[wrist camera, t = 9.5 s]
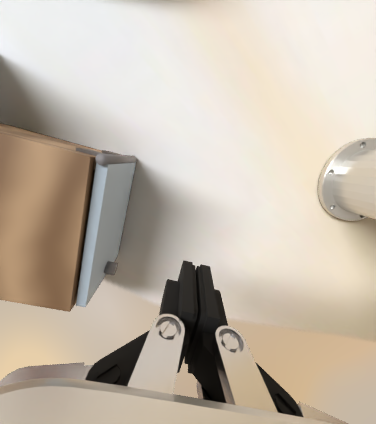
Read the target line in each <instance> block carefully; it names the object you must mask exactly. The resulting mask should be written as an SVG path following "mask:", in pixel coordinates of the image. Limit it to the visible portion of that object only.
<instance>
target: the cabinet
mask: <svg viewBox="0 0 376 424" xmlns="http://www.w3.org/2000/svg"><path fill="white" fill-rule="evenodd" d="M100 153H102V154H114V155H120V154H117V153H113V152H109V151H103V150H102V151H101V150H97V149H93V148H90V147H86V146H83V145H79V144H75V143H72V142H68V141H64V140H61V139H57V138H54V137H50V136H46V135H43V134H39V133H36V132H32V131H28V130H25V129H21V128H17V127H14V126H10V125H6V124H1V123H0V300H5V301H11V302H17V303H22V304H28V305H34V306H40V307H46V308H51V309H57V310H63V311H71V309H72V308H73V306H74V305H75V304H76V301H77V294H78V287H79V280H80V273H81V266H82V259H83V252H84V245H85V238H86V231H87V224H88V218H89V211H90V204H91V197H92V190H93V183H94V176H95V169H96V156H97V155H98V154H100Z"/></svg>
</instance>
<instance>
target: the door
mask: <svg viewBox="0 0 376 424" xmlns="http://www.w3.org/2000/svg"><path fill="white" fill-rule="evenodd" d="M136 161H137V159H136V157H135V156H127V155H114V154H102V153H100V154H98V155H97V156H96V169H95V176H94V183H93V190H92V197H91V204H90V211H89V218H88V224H87V231H86V238H85V245H84V252H83V259H82V266H81V273H80V280H79V287H78V294H77V301H76V306H82V307H86V305H87V304H88V302H89V301H90V299H91V297H92V296H93V294H94V293H95V291H96V290H97V288H98V286H99V285H100V283H101V282H102V280H103V279H104V277H105V275H106V274H110V275H114V274H115V272H116V269H117V265H118V263H115V262H114V261H115V259H116V258H117V256H118V252H119V247H120V242H121V237H122V232H123V226H124V221H125V216H126V211H127V206H128V201H129V196H130V191H131V186H132V181H133V176H134V171H135V166H136V163H135V162H136Z"/></svg>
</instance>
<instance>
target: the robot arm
mask: <svg viewBox="0 0 376 424" xmlns="http://www.w3.org/2000/svg"><path fill="white" fill-rule="evenodd" d="M318 196H319V199H320V202H321V204H322V206H323V208H324V209H325V210H326V211H327V212H328V213H329V214H331V215H332V216H334V217H337V218H339V219H342V220H347V221H356V220H362V219H365V218H368V217H369V218H373V219H376V138H366V139H359V140H356V141H353V142H350V143H348V144H346V145H344V146H343V147H342V148H340V149H339V150H338V151H336V152H335V153H334V154H333V155H332V156H331V157H330V159H329V160H328V162H327V163H326V164H325V166H324V168H323V170H322V172H321V175H320V178H319V184H318ZM184 356H185V364H188V373H192V374H193V375H194V376H195V378H196V379H197V380H198V381H197V393H198V398H192V397H186V396H180V395H174V394H173V392H174V386H175V381H176V376H177V373H178V372H179V371H180V368H181V365H182V362H183V359H184ZM0 424H348V423H346V422H344V421H342V420H339V419H337V418H335V417H333V416H330V415H328V414H326V413H323V412H322V411H319V410H317V409H315V408H313V407H310V406H308V405H306V404H303V403H301V402H299V403H298V404H296V402H295V401H294V399H293V398H292V397H291V396H290V395H289V394H288V393H287V392H286V391H285V390H284V389H283V388H282V387H281V386H280V385H279V384H278V383H277V382H276V381H275V380H274V379H272V378H271V377H270V376H269V375H268V374H267V373H266V372H265V371H264V370H263V369H262V368H261V367H260V366H259V365H258V364H257V363H256V362H255V360H254V359H253V356H252V354H251V352H250V349H249V347H248V345H247V343H246V340H245V339H244V337H243V336H242V335H241V334H240V332H239V331H237V330H236V329H234V328H232V327H230V326H228V324H227V319H226V315H225V311H224V307H223V302H222V298H221V294H220V291H219V290H215V289H214V285H213V280H212V275H211V270H210V266H206V265H200V267H199V266H197V268H196V271H195V265H192V262H188V261H183V264H182V267H181V271H180V275H179V278H178V281H173V280H169V279H167V282H166V286H165V290H164V294H163V298H162V303H161V308H160V314H159V316H158V317H157V318H155V320H154V322H153V324H152V326H151V329H150V330H149V331H148V332H146V333H144V334H143V335H141V336H139V337H138V338H136V339H134V340H132V341H131V342H129V343H128V344H126V345H124V346H122V347H121V348H119V349H117V350H116V351H114V352H112V353H110V354H109V355H107V356H105V357H104V358H102V359H100V360H99V361H98V362H97V363H95V364H94V365H87V366H84V363H71V364H57V365H43V366H28V367H24V368H19V369H17V370H15V371H13V372H11V373H9V374H8V375H7V376H6V377H5V378H3V379H2V380H1V381H0Z"/></svg>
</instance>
